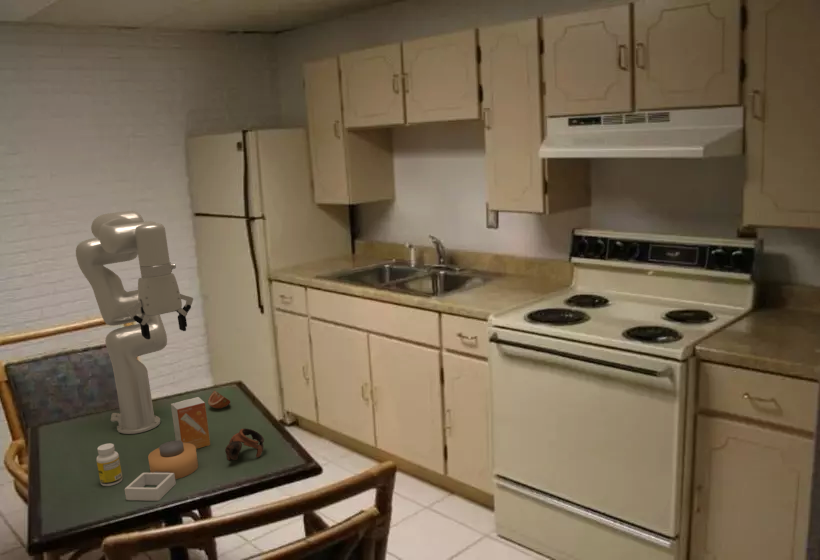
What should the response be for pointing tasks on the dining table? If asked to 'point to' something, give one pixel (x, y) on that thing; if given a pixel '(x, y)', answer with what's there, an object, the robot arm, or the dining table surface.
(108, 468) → the supplement bottle
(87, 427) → the dining table surface
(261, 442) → the brown curved piece
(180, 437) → the small box
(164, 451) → the disc and frame
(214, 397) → the fruit slice
